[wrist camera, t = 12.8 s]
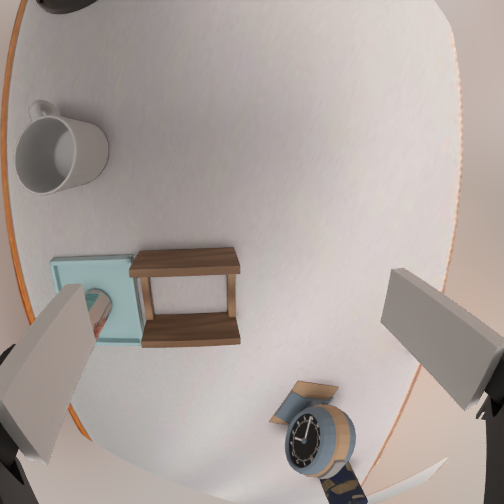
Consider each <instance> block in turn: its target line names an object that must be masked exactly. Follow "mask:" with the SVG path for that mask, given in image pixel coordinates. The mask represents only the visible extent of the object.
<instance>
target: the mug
mask: <svg viewBox="0 0 504 504" xmlns="http://www.w3.org/2000/svg"><path fill="white" fill-rule="evenodd" d="M41 111H43V112H44V113H46V114H47V115H45V116H43V114H42V112H41ZM29 115H30V119H31V123H29V124H28V125H27V126H26V128H25V129H24V130H23V132H22V133H21V135H20V137H19V139H18V141H17V144H16V147H15V153H14V167H15V172H16V175H17V177H18V180H19V181H20V183H21V184H22V186H23V187H24V188H25V189H26V190H28V191H29V192H31V193H33V194H36V195H49V194H53V193H56V192H59V191H62V190H66V189H69V188H72V187H75V186H79V185H83V184H87V183H89V182H91V181H93V180H94V179H95V178H97V177H98V176H99V175H100V173H101V172H102V171H103V169H104V167H105V165H106V163H107V159H108V153H109V147H108V142H107V139H106V136H105V134H104V133H103V132H102V130H101V129H100V128H99V127H97V126H96V125H94V124H92V123H88V122H83V121H78V120H74V119H70V118H66V117H61V115H60V113H59V111H58V110H57V108H56V107H55V106H54V105H53V104H51V103H49V102H47V101H43V100H38V101H35V102H34V103H32V104H31V105H30V107H29Z"/></svg>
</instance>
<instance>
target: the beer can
mask: <svg viewBox="0 0 504 504" xmlns="http://www.w3.org/2000/svg"><path fill="white" fill-rule="evenodd" d="M84 296H85V300H86V304H87V309H88V313H89V317H90V321H91V325H92V328H93V332H94V336H95V339H96V341H97V339H98V337H99V335H100V333H101V331H102V329H103V327H104V325H105V323H106V321H107V319H108V317H109V315H110V313H111V310H112V303H111V300H110V298H109V297H108V296H107V295H106V294H105V293H104V292H102V291H100V290H97V289H92V290H89V291H87V292H86V293H85V294H84ZM95 344H96V343H95ZM94 346H95V345H94ZM93 348H94V347H93ZM92 350H93V349H92Z"/></svg>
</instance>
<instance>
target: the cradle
mask: <svg viewBox="0 0 504 504" xmlns="http://www.w3.org/2000/svg"><path fill="white" fill-rule="evenodd" d="M223 274H227V303H228V312H219V313H197V314H166V315H155V314H154V308H153V301H152V293H151V285H150V277H171V276H199V275H223ZM235 274H240V264H239V261H238V258H237V255H236V252H235V249H234V247H231V248H203V249H176V250H150V251H139V253H138V255H137V256H136V258H135V260H134V261H133V263H132V265H131V266H130V268H129V277H130V278H139V277H140V279H141V286H142V293H143V300H144V307H145V313H146V319H147V321H146V324H145V328H144V332H143V335H142V339H141V345H142V348H165V347H200V346H220V345H236V344H240V334H239V330H238V325H237V321H236V312H235Z"/></svg>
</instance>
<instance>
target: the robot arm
mask: <svg viewBox="0 0 504 504" xmlns="http://www.w3.org/2000/svg"><path fill="white" fill-rule="evenodd" d="M36 1H37V3H38V4H39V5H40V6H41V7H42V8H43V9H45V10H46V11H48V12H50V13H54V14H63V13H69V12H73V11H76V10H79V9H81V8H83V7H85V6H87V5H89V4H91V3H93V2H95V1H96V0H36ZM381 323H382V324H383V325H384V326H385V327H386V328H387V329H388V330H389V331H390V332H391V333H392V334H393V335H394V336H395V337H396V338H397V339H398V340H399V341H400V342H401V343H402V345H403V346H404V347H405V348H406V349H407V350H408V351H409V352H410V353H411V354H412V355H413V356H414V357H415V358H416V359H417V360H418V361H419V362H420V363H421V364H422V365H423V367H424V368H425V369H426V370H427V371H428V372H429V373H430V374H431V375H432V376H433V377H434V378H435V379H436V380H437V381H438V382H439V384H440V385H441V386H442V387H443V388H444V389H445V390H446V391H447V392H448V394H449V395H450V396H451V397H452V398H453V399H454V400H455V401H456V402H457V404H459V406H460V407H461V408H462V409H463V410H464V411H465V410H467V409H469V408H471V407H472V406H474V405H475V404H477V403H478V401H479V399H480V397H481V396H482V394H483V392H484V391H485V392H486V393H487V394H488V396H487V398H486V400H485V402H484V403H483V405H482V407H481V408H480V410H479V412H478V413H477V415H476V419H478V418H479V417H480V415H481V413H482V412H485V414H484V415H483V417H482V418H481V419H483V420H486V436H487V437H486V438H487V459H486V482H485V494H484V504H504V337H502V336H501V335H499V334H498V333H497V332H496V331H494V330H493V329H492V328H490V327H489V326H488V325H486V324H485V323H484V322H482V321H481V320H479V319H478V318H477V317H475V316H474V315H472V314H471V313H470V312H468V311H467V310H466V309H464V308H463V307H461V306H460V305H458V304H457V303H456V302H454V301H453V300H451V299H450V298H448V297H447V296H445V295H444V294H443V293H441V292H440V291H438V290H437V289H435V288H434V287H432V286H431V285H429V284H428V283H426V282H425V281H423V280H422V279H420V278H419V277H417V276H416V275H414V274H412V273H411V272H409V271H408V270H406V269H405V268H399V269H391V274H390V280H389V285H388V290H387V295H386V300H385V304H384V309H383V313H382V317H381ZM95 343H96V339H95V336H94V332H93V328H92V325H91V321H90V317H89V313H88V309H87V304H86V300H85V296H84V291H83V286H82V284H66V285H65V286H64V287H63V288H62V289H61V290H60V291H59V293H58V294H57V295H56V296H55V297H54V298H53V299H52V301H51V302H50V303H49V304H48V305H47V306H46V308H45V309H44V310H43V311H42V312H41V314H40V315H39V316H38V317H37V318H36V320H35V321H34V322H33V323H32V325H31V326H30V327H29V328H28V330H27V331H26V332H25V333H24V335H23V336H22V337H21V338H20V340H19V341H18V342H17V344H13V345H12V346H11V347H9V348H8V349H7V350H6V351H4V352H3V353H2V355H1V356H0V504H39V503H38V501H37V499H36V497H35V495H34V493H33V491H32V488H31V486H30V484H29V482H28V480H27V477H26V475H25V472H24V470H23V468H22V465H21V463H20V461H19V460H18V459H17V457H16V454H17V452H18V449H20V451H21V452H22V453H23V454H24V456H26V458H27V459H28V460H30V461H33V462H37V463H40V464H44V465H48V464H49V461H50V458H51V454H52V452H53V449H54V445H55V442H56V439H57V436H58V434H59V430H60V428H61V425H62V422H63V420H64V417H65V414H66V412H67V409H68V406H69V404H70V401H71V399H72V396H73V394H74V391H75V389H76V386H77V384H78V381H79V379H80V377H81V374H82V372H83V370H84V367H85V365H86V363H87V361H88V358H89V356H90V354H91V352H92V349H93V347H94V345H95Z"/></svg>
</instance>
